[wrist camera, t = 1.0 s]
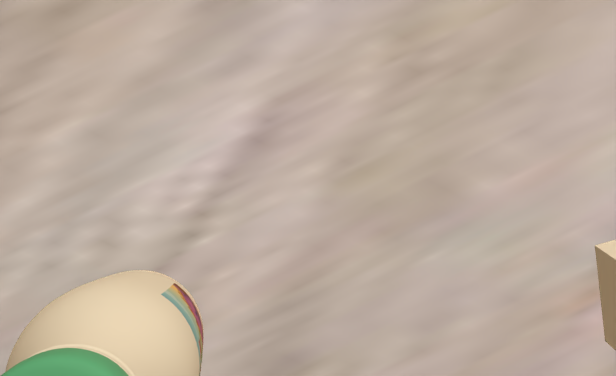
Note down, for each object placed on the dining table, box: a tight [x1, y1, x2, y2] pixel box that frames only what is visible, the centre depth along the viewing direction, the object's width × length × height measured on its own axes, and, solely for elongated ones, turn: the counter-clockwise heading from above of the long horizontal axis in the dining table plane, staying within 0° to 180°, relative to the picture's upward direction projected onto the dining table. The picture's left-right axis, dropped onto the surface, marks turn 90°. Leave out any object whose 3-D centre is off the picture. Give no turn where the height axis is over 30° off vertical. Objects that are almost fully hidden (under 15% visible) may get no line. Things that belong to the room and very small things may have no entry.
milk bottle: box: [1, 270, 203, 376], centre depth 25 cm, size 8×8×20 cm
